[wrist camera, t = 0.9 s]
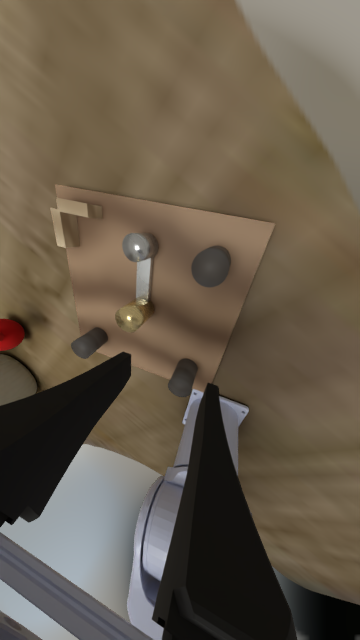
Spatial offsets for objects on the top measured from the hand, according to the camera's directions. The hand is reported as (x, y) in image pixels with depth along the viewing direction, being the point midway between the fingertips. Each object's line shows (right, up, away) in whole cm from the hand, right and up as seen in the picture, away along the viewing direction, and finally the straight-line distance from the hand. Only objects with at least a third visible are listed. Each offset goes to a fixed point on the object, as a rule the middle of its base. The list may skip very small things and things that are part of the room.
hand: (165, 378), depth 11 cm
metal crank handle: (-3, +8, +7) cm, 11 cm away
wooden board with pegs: (-3, +6, +10) cm, 12 cm away
